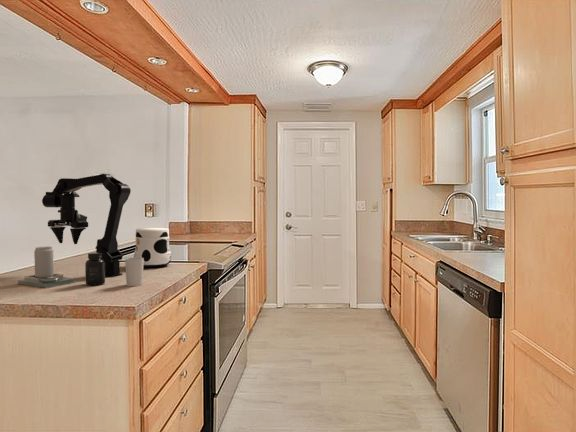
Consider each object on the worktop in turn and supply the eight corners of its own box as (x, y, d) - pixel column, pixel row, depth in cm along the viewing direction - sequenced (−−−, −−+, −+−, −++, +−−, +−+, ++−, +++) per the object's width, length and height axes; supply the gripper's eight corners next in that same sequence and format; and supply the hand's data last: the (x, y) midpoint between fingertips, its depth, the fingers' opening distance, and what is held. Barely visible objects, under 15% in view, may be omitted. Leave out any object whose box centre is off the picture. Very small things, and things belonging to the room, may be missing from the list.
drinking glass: (125, 283, 165) (124, 257, 165) (143, 282, 167) (143, 257, 167) (125, 286, 159) (125, 260, 158) (144, 285, 161) (144, 259, 161)
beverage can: (47, 279, 164) (47, 248, 163) (31, 279, 164) (30, 247, 163) (57, 276, 170) (56, 246, 170) (41, 276, 170) (40, 246, 170)
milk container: (128, 265, 208) (127, 228, 207) (161, 262, 219) (161, 227, 219) (143, 270, 195) (143, 231, 194) (177, 266, 207) (177, 229, 206)
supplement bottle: (109, 283, 166) (108, 252, 165) (95, 286, 159) (95, 254, 159) (94, 281, 168) (94, 251, 167) (81, 285, 161) (80, 253, 161)
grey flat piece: (74, 282, 167) (74, 274, 167) (46, 288, 156) (46, 279, 156) (47, 278, 174) (47, 271, 174) (18, 284, 163) (18, 276, 163)
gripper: (98, 207, 188) (99, 243, 189) (69, 207, 196) (69, 240, 196) (76, 208, 178) (77, 245, 178) (46, 207, 186) (47, 243, 186)
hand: (68, 243), depth 185 cm, fingers open, 9 cm apart
